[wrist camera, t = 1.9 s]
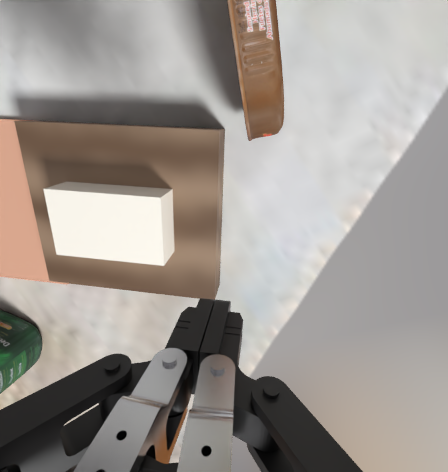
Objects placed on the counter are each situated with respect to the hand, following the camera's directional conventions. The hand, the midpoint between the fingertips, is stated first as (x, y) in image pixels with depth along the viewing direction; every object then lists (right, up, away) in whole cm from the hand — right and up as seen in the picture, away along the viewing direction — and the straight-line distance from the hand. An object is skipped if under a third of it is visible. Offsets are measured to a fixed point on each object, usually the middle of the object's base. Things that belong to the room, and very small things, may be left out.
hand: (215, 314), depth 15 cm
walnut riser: (-9, +7, +16) cm, 19 cm away
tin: (+3, +20, +9) cm, 22 cm away
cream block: (-9, +6, +13) cm, 17 cm away
